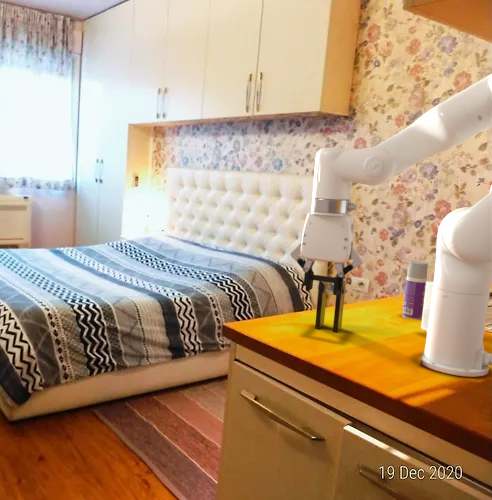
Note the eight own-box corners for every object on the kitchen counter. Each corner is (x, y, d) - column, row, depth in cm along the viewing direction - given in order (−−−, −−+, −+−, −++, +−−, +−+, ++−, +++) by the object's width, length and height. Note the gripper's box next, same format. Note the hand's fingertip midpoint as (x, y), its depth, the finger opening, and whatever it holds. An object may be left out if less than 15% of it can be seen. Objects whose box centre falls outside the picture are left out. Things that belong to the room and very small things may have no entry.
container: (424, 320, 134) (431, 264, 132) (405, 319, 135) (411, 263, 133) (418, 315, 139) (425, 261, 136) (400, 314, 140) (406, 260, 137)
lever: (334, 285, 108) (336, 274, 108) (310, 281, 110) (312, 271, 111) (343, 296, 118) (345, 286, 118) (321, 293, 120) (322, 283, 121)
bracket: (340, 343, 114) (346, 287, 112) (304, 336, 118) (309, 282, 116) (349, 332, 122) (355, 279, 120) (315, 326, 126) (320, 275, 124)
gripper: (377, 209, 106) (367, 295, 109) (294, 204, 115) (288, 283, 118) (370, 211, 100) (361, 302, 103) (284, 205, 109) (278, 288, 112)
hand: (322, 291), depth 110 cm, fingers closed on lever, 5 cm apart
